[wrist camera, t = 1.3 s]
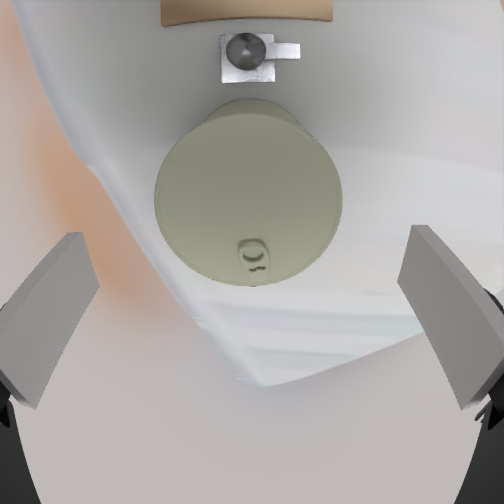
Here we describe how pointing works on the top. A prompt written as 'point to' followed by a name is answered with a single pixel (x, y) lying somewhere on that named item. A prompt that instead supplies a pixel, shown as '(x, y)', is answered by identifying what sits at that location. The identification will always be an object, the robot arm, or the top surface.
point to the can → (248, 196)
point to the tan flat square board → (243, 10)
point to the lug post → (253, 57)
